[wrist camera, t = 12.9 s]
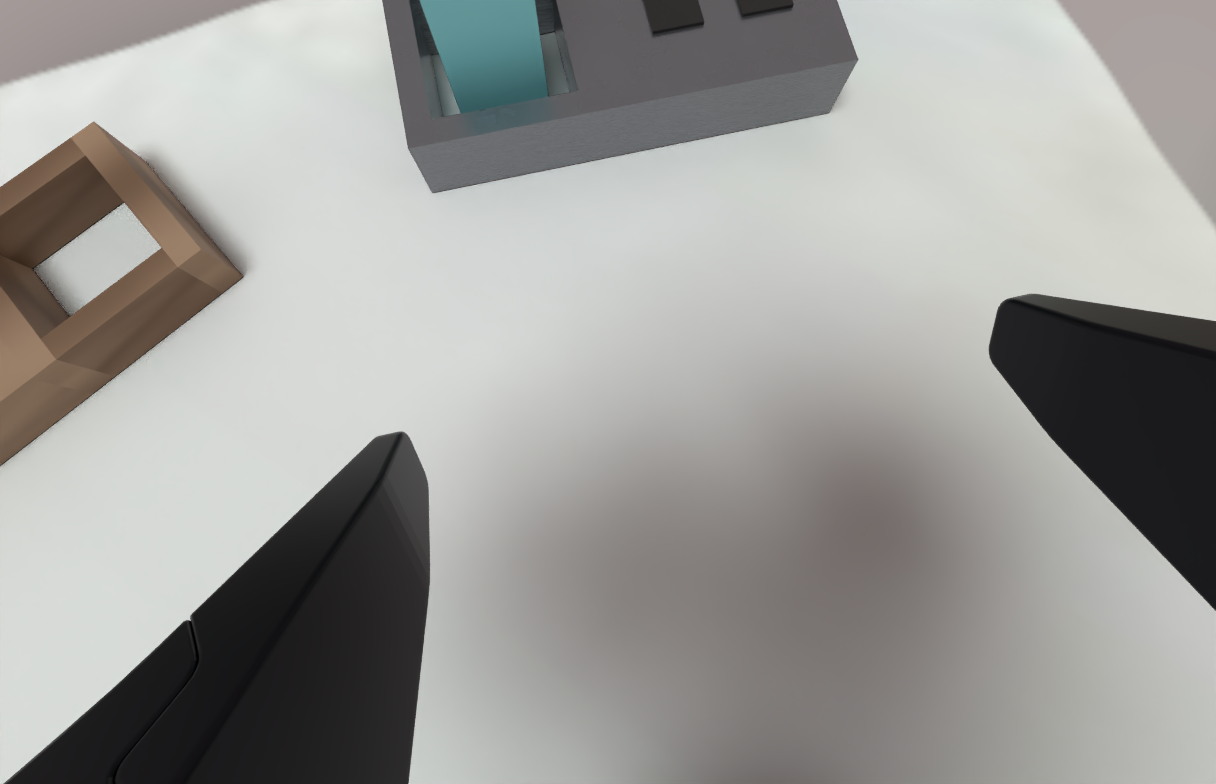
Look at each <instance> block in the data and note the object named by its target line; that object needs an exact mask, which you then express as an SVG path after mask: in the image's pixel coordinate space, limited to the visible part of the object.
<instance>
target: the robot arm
mask: <svg viewBox="0 0 1216 784" xmlns="http://www.w3.org/2000/svg"><path fill="white" fill-rule="evenodd" d="M989 355H990V359H991V361H992V363H993V365H994V366H995V367H996V369H997V370H998V371H999V372H1000V374H1001V375H1002V376H1003V378H1004V379H1005V380H1006V381H1007V383H1008V384H1009V385H1010V387H1011V388H1012V389H1013V390H1014V392H1015V393H1016V394H1017V396H1018V397H1019V398H1020V399H1021V401H1022V402H1023V403H1024V405H1025V406H1026V407H1027V408H1028V410H1029V411H1030V412H1031V414H1032V415H1033V416H1034V417H1035V419H1036V420H1037V421H1038V423H1039V424H1040V425H1041V426H1042V428H1043V429H1044V430H1045V431H1046V433H1047V434H1048V435H1049V436H1050V437H1051V439H1052V440H1053V441H1054V442H1055V443H1056V444H1057V445H1058V446H1059V447H1060V448H1061V449H1062V451H1063V452H1064V453H1065V454H1066V455H1067V456H1068V457H1069V458H1070V459H1071V460H1072V461H1073V462H1074V463H1075V464H1076V465H1077V466H1078V467H1079V468H1080V469H1081V470H1082V471H1083V473H1084V474H1085V475H1086V476H1087V477H1088V478H1089V479H1090V480H1091V481H1092V482H1093V483H1094V484H1095V485H1096V486H1097V487H1098V488H1099V489H1100V490H1101V491H1102V492H1103V493H1104V494H1105V496H1106V497H1107V498H1108V499H1109V500H1110V501H1111V502H1112V503H1113V504H1114V505H1115V506H1116V507H1117V508H1118V509H1119V510H1120V511H1121V512H1122V513H1123V514H1124V515H1125V516H1126V517H1127V519H1128V520H1129V521H1130V522H1131V523H1132V524H1133V525H1134V526H1135V527H1136V528H1137V529H1138V530H1139V531H1140V532H1141V533H1142V534H1143V535H1144V536H1145V537H1146V538H1147V539H1148V540H1149V542H1150V543H1151V544H1152V545H1153V546H1154V547H1155V548H1156V549H1157V550H1158V551H1159V552H1160V553H1161V554H1162V555H1163V556H1164V557H1165V558H1166V559H1167V560H1168V561H1169V562H1170V563H1171V565H1172V566H1173V567H1174V568H1175V569H1176V570H1177V571H1178V572H1179V573H1180V574H1181V575H1182V576H1183V577H1184V578H1185V579H1186V580H1187V581H1188V582H1189V583H1190V584H1191V585H1192V586H1193V588H1194V589H1195V590H1196V591H1197V592H1198V593H1199V594H1200V595H1201V596H1202V597H1203V598H1204V599H1205V600H1206V601H1207V602H1208V603H1209V604H1210V605H1211V606H1212V607H1213V608H1214V610H1215V611H1216V321H1211V320H1204V319H1197V318H1191V317H1184V316H1178V315H1171V314H1165V313H1158V312H1151V311H1145V310H1138V309H1132V308H1125V307H1119V306H1112V305H1105V304H1099V303H1092V302H1086V301H1079V300H1072V299H1066V298H1059V297H1053V296H1046V295H1040V294H1027V295H1022V296H1018V297H1013V298H1009V299H1006V300H1005V301H1003V302H1002V303H1001V304H1000V306H999V307H998V310H997V314H996V318H995V323H994V327H993V331H992V335H991V340H990V344H989ZM429 585H430V540H429V489H428V482H427V477H426V474H425V472H424V469H423V467H422V465H421V462H420V460H419V458H418V455H417V453H416V451H415V449H414V446H413V444H412V442H411V440H410V438H409V436H408V435H407V434H406V433H405V432H395V433H391V434H386V435H381V436H378V437H376V438H374V439H373V440H372V441H371V442H370V443H369V444H368V445H367V446H366V447H365V448H364V449H363V450H362V451H361V452H360V453H359V454H358V455H356V456H355V457H354V458H353V459H352V460H351V461H350V462H349V463H348V464H347V465H346V466H345V467H344V468H343V469H342V470H341V471H340V472H339V473H338V474H337V475H336V476H335V477H334V478H333V479H332V480H331V481H330V482H328V483H327V484H326V485H325V486H324V487H323V488H322V489H321V490H320V491H319V492H318V493H317V494H316V495H315V496H314V497H313V498H312V499H311V500H310V501H309V502H308V503H307V504H306V505H305V506H304V507H303V508H301V509H300V510H299V511H298V512H297V513H296V514H295V515H294V516H293V517H292V518H291V519H290V520H289V521H288V522H287V523H286V524H285V525H284V526H283V527H282V528H281V529H280V530H279V531H278V532H277V533H275V534H274V535H273V536H272V537H271V538H270V539H269V540H268V541H267V542H266V543H265V544H264V545H263V546H262V547H261V548H260V549H259V550H258V551H257V552H256V553H255V554H254V555H253V556H252V557H251V558H249V559H248V560H247V561H246V562H245V563H244V564H243V565H242V566H241V567H240V568H239V569H238V570H237V571H236V572H235V573H234V574H233V575H232V576H231V577H230V578H229V579H228V580H227V581H226V582H225V583H224V584H222V585H221V586H220V587H219V588H218V589H217V590H216V591H215V592H214V593H213V594H212V595H211V596H210V597H209V598H208V599H207V600H206V601H205V602H204V603H203V604H202V605H201V606H200V607H199V608H198V609H196V610H195V611H194V612H193V613H192V615H191V616H190V620H191V621H190V620H186V621H184V622H183V623H182V624H181V625H180V626H179V627H178V628H177V629H176V630H175V631H174V632H172V633H171V634H170V635H169V636H168V637H167V638H166V639H165V640H164V641H163V642H162V643H161V644H160V645H159V646H158V647H157V648H156V649H155V650H154V651H153V652H152V653H151V654H149V655H148V656H147V657H146V658H145V659H144V660H143V661H142V662H141V663H140V664H139V665H138V666H137V667H136V668H134V669H133V670H132V671H131V672H130V673H129V674H128V675H127V676H126V677H125V678H124V679H123V680H122V681H121V682H119V683H118V684H117V685H116V686H115V687H114V688H113V689H112V690H111V691H110V692H108V693H107V694H106V695H105V696H104V697H103V698H102V699H100V700H99V701H98V702H97V703H96V704H95V705H94V706H93V707H91V708H90V709H89V710H88V711H87V712H86V713H85V714H83V715H82V716H81V717H80V718H79V719H78V720H77V721H75V722H74V723H73V724H72V725H71V726H70V727H69V728H68V729H66V730H65V731H64V732H63V733H62V734H61V735H60V736H58V737H57V738H56V739H55V740H54V741H53V742H51V743H50V744H49V745H48V746H47V747H46V748H44V749H43V750H42V751H41V752H40V753H39V754H38V755H36V756H35V757H34V758H33V759H32V760H31V761H29V762H28V763H27V764H26V765H25V766H24V767H22V768H21V769H20V770H19V771H18V772H17V773H15V774H14V775H13V776H12V777H11V778H10V779H9V780H7V781H6V782H5V783H4V784H408V782H409V773H410V764H411V755H412V745H413V736H414V727H415V718H416V708H417V699H418V690H419V681H420V671H421V662H422V653H423V643H424V634H425V625H426V616H427V606H428V597H429Z"/></svg>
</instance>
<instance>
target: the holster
mask: <svg viewBox="0 0 1216 784" xmlns="http://www.w3.org/2000/svg"><path fill="white" fill-rule="evenodd" d="M123 202H124V203H125V204H126V205H127V206H128V208H129V209H130V210H131V211H132V212H133V214H134V215H135V216H136V217H137V218H138V220H139V221H140V222H141V223H142V224H143V226H144V227H145V228H146V229H147V230H148V232H149V233H150V234H151V235H152V237H153V238H154V239H155V240H156V241H157V243H158V244H159V245H160V246H161V247H162V248H161V249H160V250H158V251H157V252H156V253H154V254H153V255H152V256H150V257H149V258H148V259H146V260H145V261H144V262H142V263H141V264H140V265H138V266H137V267H136V268H134V269H133V270H132V271H130V272H129V273H128V274H126V275H125V276H124V277H122V278H121V279H120V280H118V281H117V282H116V283H114V284H113V285H112V286H110V287H109V288H108V289H106V290H105V291H104V292H102V293H101V294H100V295H98V296H97V297H96V298H94V299H93V300H92V301H90V302H89V303H88V304H86V305H85V306H84V307H82V308H81V309H80V310H78V311H77V312H76V313H74V314H73V315H72V316H70V317H69V316H68V315H67V313H66V312H65V311H64V309H63V308H62V307H61V306H60V304H59V303H58V302H57V300H56V299H55V298H54V297H53V295H52V294H51V293H50V291H49V290H48V289H47V287H46V286H45V285H44V284H43V282H42V281H41V280H40V278H39V277H38V276H37V275H36V273H35V272H34V271H33V269H32V268H34V267H35V266H36V265H38V264H39V263H41V262H42V261H43V260H45V259H46V258H47V257H49V256H50V255H52V254H53V253H54V252H56V251H57V250H58V249H60V248H61V247H62V246H64V245H65V244H67V243H68V242H69V241H71V240H72V239H73V238H75V237H76V236H78V235H79V234H80V233H82V232H83V231H84V230H86V229H87V228H89V227H90V226H91V225H93V224H94V223H95V222H97V221H98V220H99V219H101V218H102V217H104V216H105V215H106V214H108V213H109V212H110V211H112V210H113V209H115V208H116V207H117V206H119V205H120V204H121V203H123ZM241 278H243V276H242V275H241V274H240V272H239V271H238V270H237V269H236V268H235V267H234V265H233V264H232V263H231V262H230V261H229V259H228V258H227V257H226V256H225V255H224V254H223V252H222V251H221V250H220V249H219V248H218V247H217V245H216V244H215V243H214V242H213V241H212V239H211V238H210V237H209V236H208V235H207V234H206V232H205V231H204V230H203V229H202V228H201V226H200V225H199V224H198V223H197V222H196V221H195V219H194V218H193V217H192V216H191V215H190V213H189V212H188V211H187V210H186V209H185V208H184V206H183V205H182V204H181V203H180V202H179V201H178V199H177V198H176V197H175V196H174V195H173V193H172V192H171V191H170V190H169V189H168V188H167V186H166V185H165V184H164V183H163V182H162V180H161V179H160V178H159V177H158V176H157V175H156V173H155V172H154V171H153V170H152V169H151V167H150V166H149V165H148V164H147V163H146V162H145V160H143V159H142V158H141V157H139V156H138V155H137V154H135V153H134V152H133V151H131V150H130V149H129V148H128V147H126V146H125V145H124V144H122V143H121V142H120V141H118V140H117V139H116V138H115V137H113V136H112V135H111V134H109V133H108V132H107V131H105V130H104V129H103V128H101V127H100V126H99V125H98V124H96V123H95V122H92V123H91V124H90V125H88V126H87V127H85V128H84V129H82V130H81V131H80V132H78V133H77V134H75V135H74V136H72V137H71V138H70V139H68V140H67V141H65V142H64V143H62V144H61V145H60V146H58V147H57V148H55V149H54V150H53V151H51V152H50V153H48V154H47V155H45V156H44V157H43V158H41V159H40V160H38V161H37V162H35V163H34V164H33V165H31V166H30V167H28V168H27V169H25V170H24V171H23V172H21V173H20V174H18V175H17V176H15V177H14V178H13V179H11V180H10V181H8V182H7V183H6V184H4V185H3V186H1V187H0V465H2V464H3V463H4V462H5V461H7V460H8V459H9V458H11V457H12V456H13V455H14V454H16V453H17V452H18V451H20V450H21V449H22V448H23V447H25V446H26V445H27V444H29V443H30V442H31V441H32V440H34V439H35V438H36V437H38V436H39V435H40V434H42V433H43V432H44V431H45V430H47V429H48V428H49V427H51V426H52V425H53V424H54V423H56V422H57V421H58V420H60V419H61V418H62V417H63V416H65V415H66V414H67V413H69V412H70V411H71V410H72V409H74V408H75V407H76V406H78V405H79V404H80V403H81V402H83V401H84V400H85V399H87V398H88V397H89V396H90V395H92V394H93V393H94V392H96V391H97V390H98V389H99V388H101V387H102V386H103V385H105V384H106V383H107V382H109V381H110V380H111V379H112V378H114V377H115V376H116V375H118V374H119V373H120V372H121V371H123V370H124V369H125V368H127V367H128V366H129V365H130V364H132V363H133V362H134V361H136V360H137V359H138V358H139V357H141V356H142V355H143V354H145V353H146V352H147V351H148V350H150V349H151V348H152V347H154V346H155V345H156V344H157V343H159V342H160V341H161V340H163V339H164V338H165V337H166V336H168V335H169V334H170V333H172V332H173V331H174V330H176V329H177V328H178V327H179V326H181V325H182V324H183V323H185V322H186V321H187V320H188V319H190V318H191V317H192V316H194V315H195V314H196V313H197V312H199V311H200V310H201V309H203V308H204V307H205V306H206V305H208V304H209V303H210V302H212V301H213V300H214V299H215V298H217V297H218V296H219V295H221V294H222V293H223V292H224V291H226V290H227V289H228V288H230V287H231V286H232V285H233V284H235V283H236V282H237V281H239V280H240V279H241Z"/></svg>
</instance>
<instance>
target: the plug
mask: <svg viewBox="0 0 1216 784" xmlns="http://www.w3.org/2000/svg"><path fill="white" fill-rule="evenodd" d="M420 3H421V6H422V9H423V11H424V14H425V17H426V20H427V22H428V25H429V28H430V30H431V33H432V36H433V39H434V41H435V44H436V47H437V50H438V52H439V55H440V58H441V61H442V63H443V66H444V69H445V71H446V74H447V77H448V80H449V82H450V85H451V88H452V91H453V93H454V96H455V99H456V102H457V104H458V107H459V110H460V113H461V114H462V113H467V112H472V111H477V110H482V109H487V108H492V107H497V106H502V105H507V104H513V103H518V102H523V101H528V100H533V99H538V98H543V97H548V90H547V83H546V76H545V69H544V62H543V55H542V48H541V41H540V33H539V26H538V19H537V12H536V5H535V0H420Z"/></svg>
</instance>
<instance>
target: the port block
mask: <svg viewBox="0 0 1216 784" xmlns="http://www.w3.org/2000/svg"><path fill="white" fill-rule="evenodd" d="M382 1H383V7H384V13H385V19H386V24H387V30H388V36H389V42H390V47H391V53H392V59H393V64H394V70H395V76H396V82H397V87H398V93H399V99H400V105H401V110H402V116H403V122H404V128H405V133H406V139H407V145H408V149H409V151H410V153H411V155H412V157H413V158H414V160H415V162H416V164H417V166H418V168H419V170H420V171H421V173H422V175H423V177H424V179H425V181H426V182H427V184H428V186H429V188H430V190H431V192H432V193H434V192H439V191H444V190H449V189H454V188H459V187H464V186H469V185H474V184H479V183H484V182H489V181H494V180H499V179H504V178H508V177H513V176H518V175H523V174H528V173H533V172H538V171H543V170H548V169H553V168H558V167H563V166H568V165H573V164H578V163H583V162H588V161H593V160H598V159H603V158H608V157H613V156H618V155H622V154H627V153H632V152H637V151H642V150H647V149H652V148H657V147H662V146H667V145H672V144H677V143H682V142H687V141H692V140H697V139H702V138H707V137H712V136H717V135H722V134H727V133H732V132H736V131H741V130H746V129H751V128H756V127H761V126H766V125H771V124H776V123H781V122H786V121H791V120H796V119H801V118H806V117H811V116H816V115H821V114H826V113H829V112H830V110H831V108H832V106H833V105H834V103H835V101H836V99H837V97H838V96H839V94H840V92H841V90H842V88H843V86H844V85H845V83H846V81H847V79H848V77H849V76H850V74H851V72H852V70H853V68H854V66H855V65H856V63H857V61H858V58H857V55H856V52H855V49H854V46H853V44H852V41H851V38H850V35H849V33H848V30H847V27H846V24H845V21H844V19H843V16H842V13H841V10H840V7H839V5H838V2H837V0H535V5H536V12H537V19H538V26H539V33H540V34H543V33H549V32H554V31H555V32H556V36H557V40H558V44H559V49H560V53H561V57H562V61H563V65H564V69H565V73H566V78H567V82H568V86H569V90H570V92H569V93H564V94H558V95H553V96H548V97H543V98H538V99H533V100H528V101H523V102H518V103H513V104H507V105H502V106H497V107H492V108H487V109H482V110H477V111H472V112H467V113H462V114H456V115H451V116H446V117H443V116H442V110H441V105H440V100H439V95H438V89H437V84H436V79H435V74H434V68H433V63H432V58H431V55H434V54H439V52H438V50H437V47H436V44H435V41H434V39H433V36H432V33H431V30H430V28H429V25H428V22H427V20H426V17H425V14H424V11H423V9H422V6H421V3H420V0H382Z"/></svg>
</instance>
